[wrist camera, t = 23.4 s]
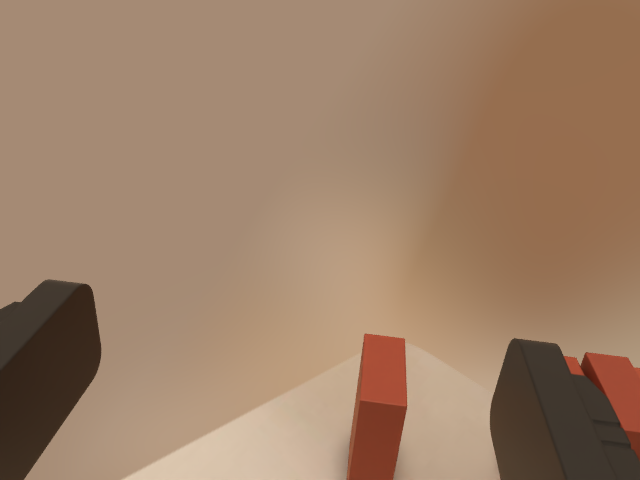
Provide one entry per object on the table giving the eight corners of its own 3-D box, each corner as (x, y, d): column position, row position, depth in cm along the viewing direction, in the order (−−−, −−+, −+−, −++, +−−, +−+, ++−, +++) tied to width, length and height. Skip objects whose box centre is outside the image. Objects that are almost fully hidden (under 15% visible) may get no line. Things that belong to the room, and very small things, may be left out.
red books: (518, 545, 33) (565, 422, 29) (499, 460, 39) (536, 345, 34) (661, 566, 33) (735, 445, 28) (621, 477, 38) (677, 363, 34)
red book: (343, 517, 34) (359, 400, 30) (349, 442, 40) (364, 333, 35) (384, 523, 34) (407, 406, 29) (385, 447, 39) (404, 338, 35)
